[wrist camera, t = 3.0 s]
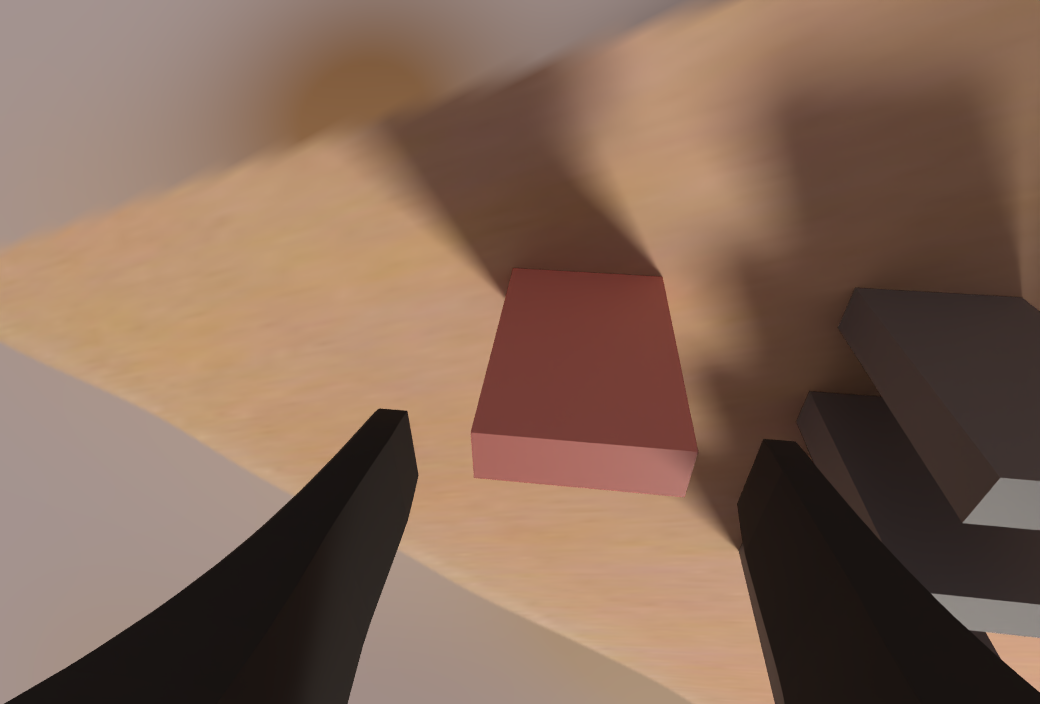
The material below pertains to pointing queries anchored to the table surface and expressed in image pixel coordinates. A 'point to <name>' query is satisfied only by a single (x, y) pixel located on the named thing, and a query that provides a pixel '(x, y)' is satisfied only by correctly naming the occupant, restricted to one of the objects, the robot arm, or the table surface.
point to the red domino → (585, 387)
